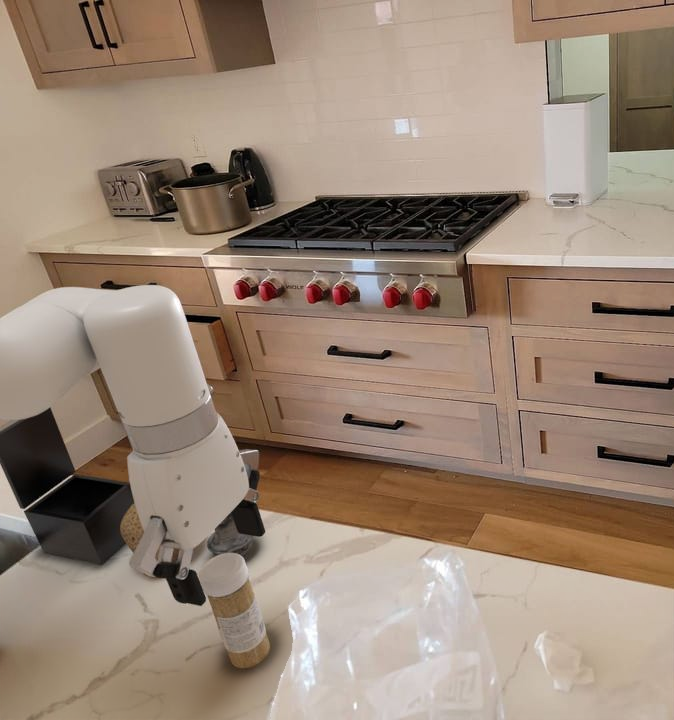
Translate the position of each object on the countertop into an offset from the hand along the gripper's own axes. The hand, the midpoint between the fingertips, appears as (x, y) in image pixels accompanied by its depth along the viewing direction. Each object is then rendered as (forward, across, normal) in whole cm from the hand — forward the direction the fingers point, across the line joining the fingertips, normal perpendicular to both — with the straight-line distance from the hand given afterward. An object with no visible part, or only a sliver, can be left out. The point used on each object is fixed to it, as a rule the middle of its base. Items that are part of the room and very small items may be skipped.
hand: (223, 565), depth 69 cm
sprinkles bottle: (+14, 0, 0) cm, 14 cm away
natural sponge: (+14, -11, -21) cm, 27 cm away
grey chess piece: (+14, -13, -12) cm, 23 cm away
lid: (-1, -11, -38) cm, 40 cm away
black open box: (+13, -11, -34) cm, 38 cm away
